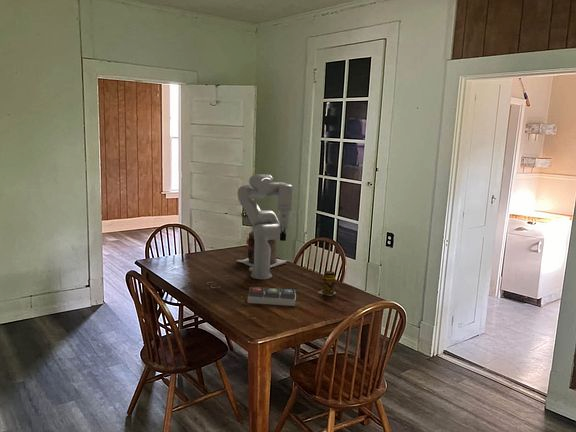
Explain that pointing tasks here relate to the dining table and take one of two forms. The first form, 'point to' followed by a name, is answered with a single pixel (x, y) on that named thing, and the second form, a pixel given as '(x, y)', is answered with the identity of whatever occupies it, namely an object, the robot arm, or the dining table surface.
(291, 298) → the button housing
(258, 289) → the red button
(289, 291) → the blue button
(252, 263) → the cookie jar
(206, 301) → the dining table surface
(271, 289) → the sage button
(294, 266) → the dining table surface
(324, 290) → the condiment
